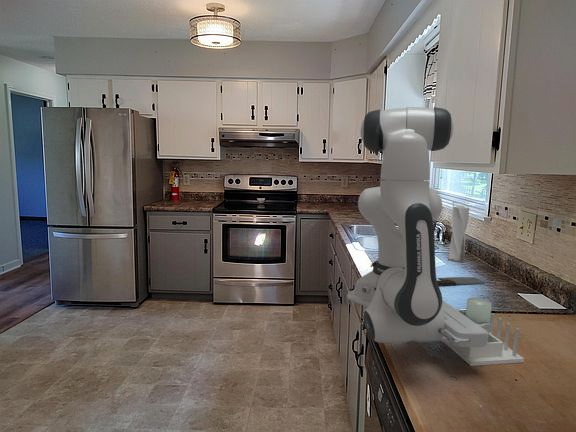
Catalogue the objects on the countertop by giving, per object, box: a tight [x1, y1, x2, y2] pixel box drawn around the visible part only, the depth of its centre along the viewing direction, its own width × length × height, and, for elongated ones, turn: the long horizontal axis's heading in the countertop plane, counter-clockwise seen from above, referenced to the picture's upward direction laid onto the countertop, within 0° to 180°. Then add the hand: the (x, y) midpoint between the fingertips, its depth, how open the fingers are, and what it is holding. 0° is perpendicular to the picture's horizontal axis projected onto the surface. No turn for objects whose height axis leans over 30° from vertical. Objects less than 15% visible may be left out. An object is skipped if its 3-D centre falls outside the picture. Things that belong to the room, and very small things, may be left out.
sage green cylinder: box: [465, 297, 493, 334], centre depth 97 cm, size 6×6×11 cm
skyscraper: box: [447, 201, 470, 264], centre depth 185 cm, size 8×8×28 cm
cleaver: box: [437, 276, 486, 287], centre depth 153 cm, size 30×10×2 cm, turn 104°
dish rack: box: [442, 312, 525, 367], centre depth 98 cm, size 14×12×8 cm
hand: (480, 320), depth 97 cm, fingers closed on sage green cylinder, 5 cm apart
